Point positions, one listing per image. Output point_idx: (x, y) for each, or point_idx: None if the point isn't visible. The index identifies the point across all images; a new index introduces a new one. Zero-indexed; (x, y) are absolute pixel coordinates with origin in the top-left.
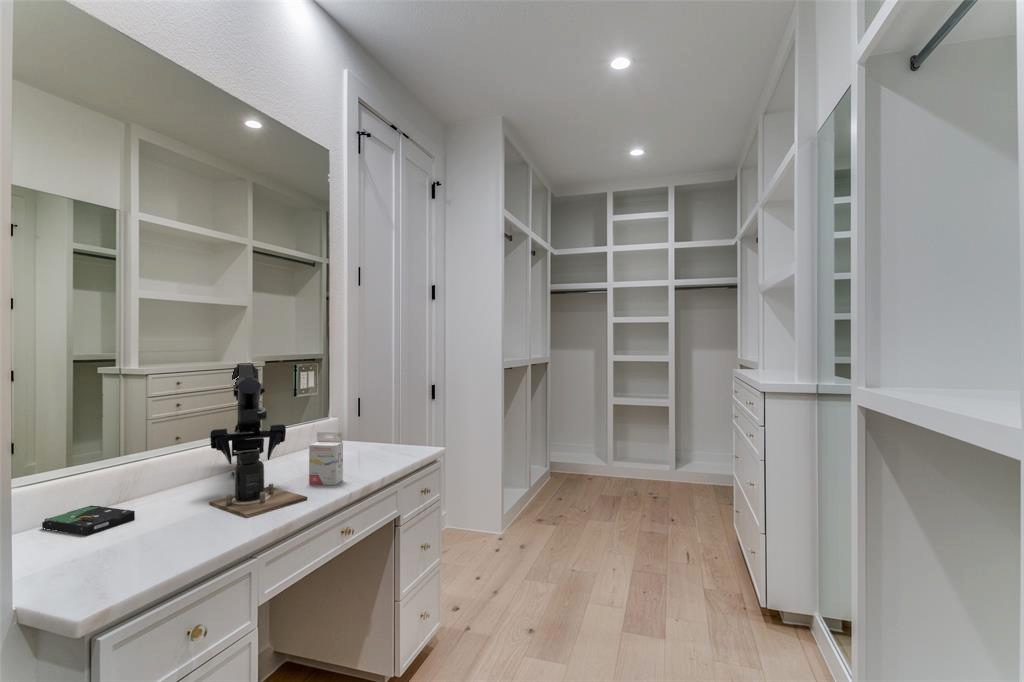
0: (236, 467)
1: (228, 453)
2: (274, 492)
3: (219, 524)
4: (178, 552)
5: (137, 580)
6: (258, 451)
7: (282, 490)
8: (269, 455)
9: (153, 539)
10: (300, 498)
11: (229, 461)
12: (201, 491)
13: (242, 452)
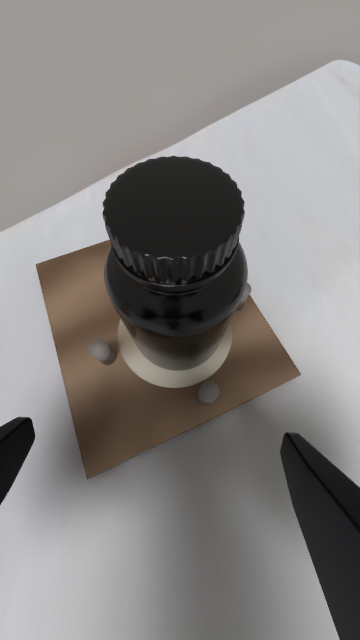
0: (239, 243)
1: (357, 501)
2: (95, 361)
3: (247, 208)
4: (293, 134)
5: (319, 92)
6: (109, 200)
7: (66, 372)
8: (2, 427)
9: (355, 192)
10: (56, 258)
11: (301, 437)
12: None
13: (221, 229)
